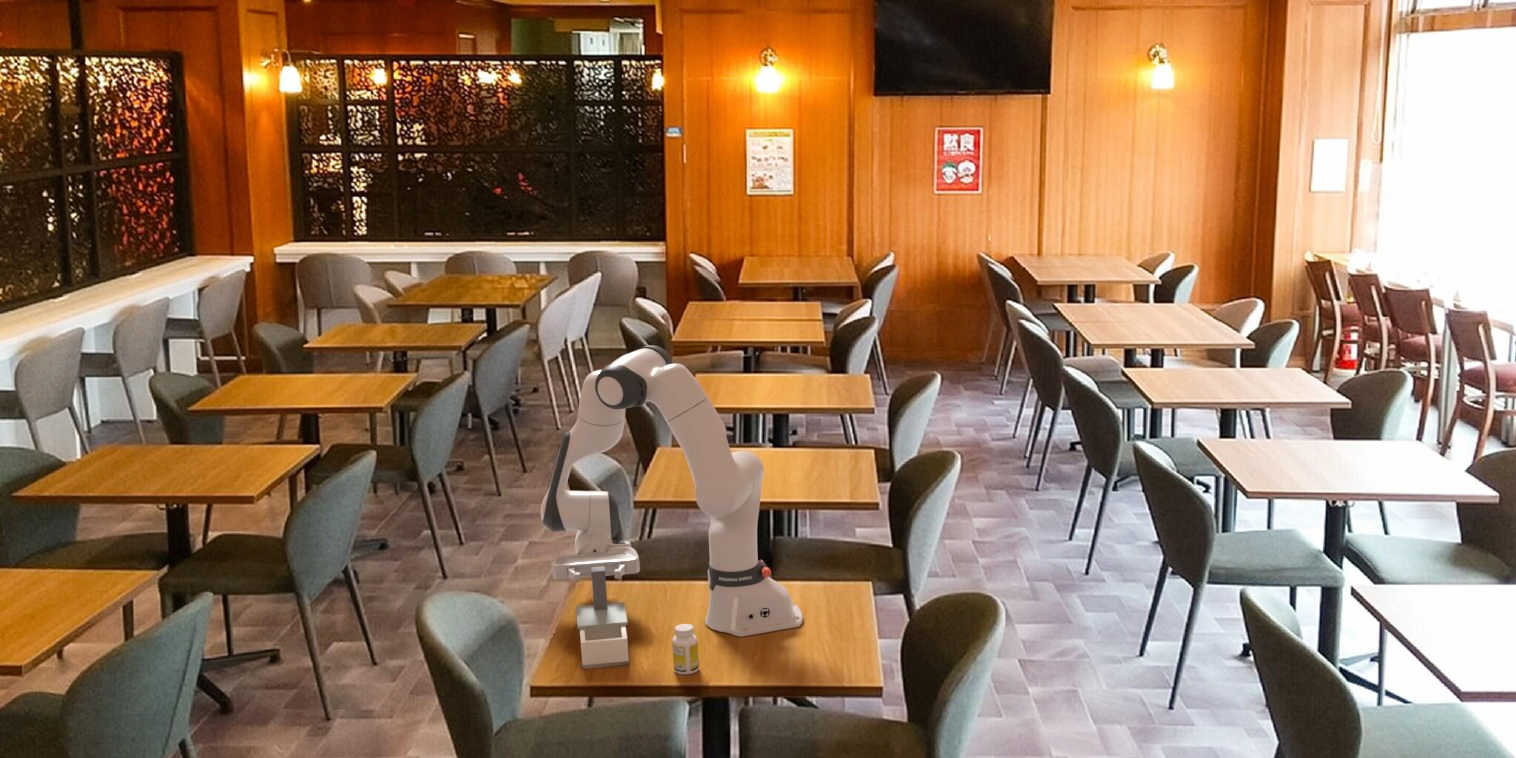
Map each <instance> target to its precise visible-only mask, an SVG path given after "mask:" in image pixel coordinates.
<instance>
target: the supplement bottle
mask: <svg viewBox="0 0 1516 758" xmlns="http://www.w3.org/2000/svg"><path fill="white" fill-rule="evenodd" d="M694 629H695V628H694V626H693V625H692V624H690V623H681V624H677V625H675V626H674V634H675V635H674V636H673V638H672V642H671V643H672V657H673V659H672V661H673V662H672V663H673V671H674V672H675V674H678V675H684V676H685V675H692V674H695V673H696V672H698V671H699V669H700V663H699V646H698V645H699V644H698V637H697V636H696V635H695V634H694V632H695V630H694Z"/></svg>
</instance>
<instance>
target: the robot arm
mask: <svg viewBox="0 0 1516 758" xmlns="http://www.w3.org/2000/svg"><path fill="white" fill-rule="evenodd" d="M579 396H580V397H579V403H578V409H577V410H578V411H577V412H578V413H577V419H576V422H575V424H574V425H573V427H572V428H571V429H570V430H568V431H566V432H564V433H563V435H562V437H561V439H560V442H559V445H558V448H557V452H556V456H555V459H554V463H553V466H552V471H551V475H550V478H549V482H548V486H547V489H546V492H545V495H544V497H543V500H542V502H541V506H540V517H541V518H540V519H541V522H542V524H543V525H544V526H545V528H547V529H549V530H550V531H551V532H554V533H555V532H567V531H574V532H575V531H576V535H575V539H574V540H575V541H574V549H575V554H573V553H571V554H562V555H557V556H556V557H554V559H552V560H551V561H550V565H551V567H552V577H553V579H554V580H573V582H574V583H578V582H581V579H582V578H592V571H591V567H601V566H605V577H607V576H609V577H610V576H614V579H622V576H624V575H630V574H633V575H634V574H637V573H639V572H640V570H641V566H640V557H639V554H638V552H637V550H636V549H635V548H633V547H632V544H631V542H630V541H628V540H615V539H613V538H614V537H615V536H616V534H617V533H618V531H619V523H620V521H619V520H620V515H619V506H618V505H619V504H618V502H617V499H616V498H615V497H614V495H613V494H612V493H611V492H610V491H603V490H569V489H566V488H567V486H568V485H567V484H568V480H569V478H570V474H571V470H572V467H573V466H575V464H576V463H577V462H579V461H581V460H583V459H586V458H587V457H591V456H594V455H598V454H602V453H605V452H607V451H609V450H610V449H612V448H614V447H615V446H616V445H617V444H618V443H619V441H620V440H621V439H622V436H623V435H624V429H625V428H624V427H625V423H626V409H630V408H635V407H642V406H643V405H644V404H645V402H646V401H647V402H650V403H652V404H654V405H655V406H656V407H657V408H658V410H659V412H660V413H661V415H662V417H663V419H664V420H665V422H666V424H667V426H668V428H669V430H670V431H671V433H672V434H673V436H674V438H675V439H676V441H677V443H678V444H679V447H680V448H681V450H682V452H683V454H684V456H685V459H686V462H687V466H688V469H689V471H690V472H689V473H690V474H691V477H692V482H693V484H694V489H695V493H694V495H695V496H694V497H695V502H696V504H697V506H698V508H699V509H700V510H701V511H702V512H703V513H704V514H706V515H708V516H710V517H711V520H710V526H709V528H708V549H709V550H708V551H709V552H708V553H709V563H708V565H707V566H708V568H707V581H708V582H707V583H708V587H709V600H708V608H707V613H706V616H705V617H706V618H705V620H704V621H705V622H704V623H705V625H706V626H707V627H708V628H710V629H712V630H715V631H717V632H721V633H728V634H730V635H733V636H736V637H747V636H748V637H749V636H753V635H759V634H764V633H771V632H775V631H781V630H788V629H793V628H798V627H800V626H801V625H802V624H803V620H804V618H803V613H802V610H801V609H800V608H799V606H798V605H796V604H795V603H793V601H792V597H791V595H790V593H789V591H788V590H787V589H786V587H785V586H784V585H783V584H781V583H779V582H778V581H776V580H775V579H773V578H771V577H770V576H771V575H772V571H771V568H770V567H768V566H767V564H766V563H765V562H764V561H763V560H762V559H760V560H759V559H758V557H759V556H758V522H759V516H760V515H759V514H760V504H761V494H762V485H763V480H764V476H765V475H764V473H765V469H764V465H763V462H762V460H761V459H760V457H759V456H757V455H756V454H755V453H753V452H752V451H749V450H738V451H733V452H732V450H731V448H730V445H729V441H728V437H727V428H726V425H725V423H724V422H723V419H721V417H720V415H719V413H718V411H717V409H716V408H715V406H714V404H713V402H712V401H711V399H710V397H709V396H708V395H707V393H706V391H705V390H704V388H703V387H702V386H701V384H700V382H699V381H698V380H697V378H696V377H695V376H694V374H693V373H692V372H690V370H689V369H688V368H687V367H686V366H685V365H684V364H682V363H674V362H673V360H672V357H671V355H670V354H669V353H668V351H666V350H665V349H664V348H662V347H661V346H658V345H646V346H641V347H639V348H637V349H636V350H634V351H631V352H629V353H626V354H623V355H622V356H619V358H616V359H615V360H614V361H612V362H611V363H609V364H607V365H605V366H604V367H603V368H602V369H597V370H594V371H592V372H590V373H589V374H588V375H586V377H585V379H584V380H583V384H582V387H581V392H580V395H579Z"/></svg>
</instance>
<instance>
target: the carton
mask: <svg viewBox="0 0 1516 758" xmlns="http://www.w3.org/2000/svg"><path fill="white" fill-rule="evenodd" d="M579 636H580V637H579V638H580V650H581V667H582V670H584V669H586V670H587V669H593V668H594V669H596V668H606V667H607V668H608V667H617V666H628V665H630V664H629V645H628V633H627V628H626V625H616V626H605V627H594V628H583V629H579Z"/></svg>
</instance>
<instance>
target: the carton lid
mask: <svg viewBox="0 0 1516 758" xmlns="http://www.w3.org/2000/svg"><path fill="white" fill-rule="evenodd" d="M591 571H592V577H591V583H592V601H593V604H584V605H576V606H575V610H576V611H575V613H576V625H577V630H580V629H583V628H594V627H605V626H616V625H625V626H626V625H628V617H627V611H626V604H625V601H621V602H619V601H618V602H609V603H608V597H607V582H606V579H607V578H606V577H607V576H605V566H601V567H591Z"/></svg>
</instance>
